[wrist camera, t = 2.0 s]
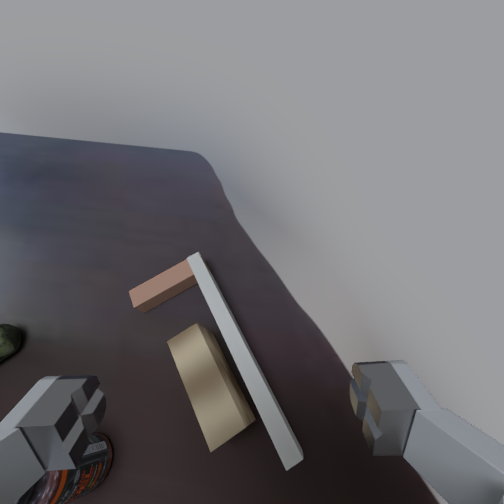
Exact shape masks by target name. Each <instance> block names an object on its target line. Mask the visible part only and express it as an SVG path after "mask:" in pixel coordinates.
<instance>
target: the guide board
mask: <svg viewBox="0 0 504 504" xmlns="http://www.w3.org/2000/svg"><path fill="white" fill-rule="evenodd" d="M197 283H198V284H199V286H200V288H201V290H202V293H203V295H204V297H205V299H206V301H207V303H208V305H209V307H210V310H211V312H212V314H213V316H214V318H215V320H216V322H217V324H218V327H219V329H220V331H221V333H222V335H223V337H224V339H225V342H226V344H227V346H228V348H229V350H230V352H231V354H232V356H233V359H234V361H235V363H236V365H237V367H238V369H239V371H240V373H241V376H242V378H243V380H244V382H245V384H246V386H247V388H248V390H249V393H250V395H251V397H252V399H253V401H254V403H255V405H256V407H257V410H258V412H259V414H260V416H261V418H262V420H263V422H264V424H265V427H266V429H267V431H268V433H269V435H270V437H271V439H272V442H273V444H274V446H275V448H276V450H277V452H278V454H279V456H280V459H281V461H282V463H283V465H284V467H285V469H286V471H287V470H289V469H290V468H292V467H293V466H294V465H296V464H297V463H299V462H300V461H302V460H303V450H302V448H301V446H300V444H299V442H298V441H297V439H296V437H295V435H294V433H293V431H292V429H291V427H290V425H289V423H288V421H287V419H286V417H285V415H284V413H283V411H282V409H281V407H280V406H279V404H278V402H277V400H276V398H275V396H274V394H273V392H272V390H271V388H270V386H269V384H268V382H267V380H266V378H265V376H264V374H263V372H262V371H261V369H260V367H259V365H258V363H257V361H256V359H255V357H254V355H253V353H252V351H251V349H250V347H249V345H248V343H247V341H246V339H245V337H244V335H243V334H242V332H241V330H240V328H239V326H238V324H237V322H236V320H235V318H234V316H233V314H232V312H231V310H230V308H229V306H228V304H227V302H226V300H225V299H224V297H223V295H222V293H221V291H220V289H219V287H218V285H217V283H216V281H215V279H214V277H213V275H212V273H211V271H210V269H209V267H208V265H207V264H206V262H205V260H204V259H203V257H202V256H201V254H200V253H199V252H197V253H195V254H193V255H192V256H190V257H188V258H186V260H185V261H183V262H181V263H179V264H177V265H175V266H174V267H172V268H170V269H168V270H166V271H165V272H163V273H161V274H159V275H157V276H156V277H154V278H152V279H150V280H148V281H146V282H145V283H143V284H141V285H139V286H137V287H136V288H134V289H132V290H130V291H129V293H130V297H131V300H132V303H133V307H134V308H135V309H137V310H139V311H141V312H143V313H146V312H147V311H149V310H151V309H153V308H155V307H156V306H158V305H160V304H162V303H163V302H165V301H167V300H169V299H170V298H172V297H174V296H176V295H178V294H179V293H181V292H183V291H185V290H186V289H188V288H190V287H192V286H193V285H195V284H197Z"/></svg>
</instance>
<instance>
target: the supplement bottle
mask: <svg viewBox="0 0 504 504" xmlns="http://www.w3.org/2000/svg"><path fill="white" fill-rule="evenodd" d="M89 438H90V444H89V446H88V448H87V449H86V451H85V453H84V455H83V457H82V459H81V460H80V462H79V464H78V466H77V468H76V469H66V470H53V471H45V474H44V475H43V476H42V477H41V478H40V479H39V480H38V481H37V482H36V483H35V484H34V485H33V486H32V487H31V488H29V489H28V490H27V491H26V492H25V493H24V494H23V495H22V496H21V497H20V498H19V499H18V500H17V501H16V502H15V503H14V504H67V503H69V502H71V501H73V500H76V499H77V498H79V497H82V496H84V495H86V494H87V493H89V492H91V491H92V490H94V489H95V488H96V487H98V486H99V485H100V484H101V482H102V481H103V480H104V478H105V477H106V475H107V473H108V471H109V468H110V465H111V461H112V447H111V444H110V441H109V440H108V438H107V437H106V436H104V435H103V434H100V433H91V434H90V435H89Z"/></svg>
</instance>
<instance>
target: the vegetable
mask: <svg viewBox="0 0 504 504" xmlns="http://www.w3.org/2000/svg"><path fill="white" fill-rule="evenodd" d="M20 344H21V334H20V332H19V330H18V329H17V328H16V327H14V326H12V325H9V324H0V361H2V360H4V359H5V358H7V357H8V356H10V355H11V354H13V353H14V352H16V351H17V350H18V348H19V346H20Z"/></svg>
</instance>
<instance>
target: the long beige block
mask: <svg viewBox="0 0 504 504" xmlns="http://www.w3.org/2000/svg"><path fill="white" fill-rule="evenodd" d="M167 343H168V345H169V348H170V350H171V353H172V355H173V358H174V360H175V363H176V365H177V368H178V371H179V373H180V376H181V378H182V381H183V383H184V386H185V388H186V391H187V393H188V396H189V399H190V401H191V404H192V406H193V409H194V411H195V414H196V416H197V419H198V421H199V424H200V426H201V429H202V432H203V434H204V437H205V439H206V442H207V444H208V447H209V449H210V452H212V451H213V450H215V449H216V448H218V447H219V446H220V445H222V444H223V443H225V442H226V441H227V440H229V439H230V438H232V437H233V436H235V435H236V434H237V433H239V432H240V431H242V430H243V429H244V428H246V427H247V426H248V425H250V424H251V423H252V422H253V421H255V420H256V418H255V416H254V414H253V412H252V410H251V408H250V406H249V404H248V402H247V400H246V398H245V396H244V394H243V392H242V390H241V388H240V386H239V384H238V382H237V380H236V378H235V376H234V374H233V372H232V370H231V368H230V366H229V364H228V362H227V360H226V358H225V356H224V354H223V352H222V350H221V348H220V346H219V344H218V342H217V340H216V338H215V336H214V334H213V333H212V332H210V331H208V330H207V329H205V328H204V327H202V326H201V325H199V324H198V323H196V324H194V325H193V326H191V327H189V328H188V329H186V330H185V331H183V332H181V333H180V334H178V335H177V336H175V337H173V338H172V339H170V340H169V341H167Z"/></svg>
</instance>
